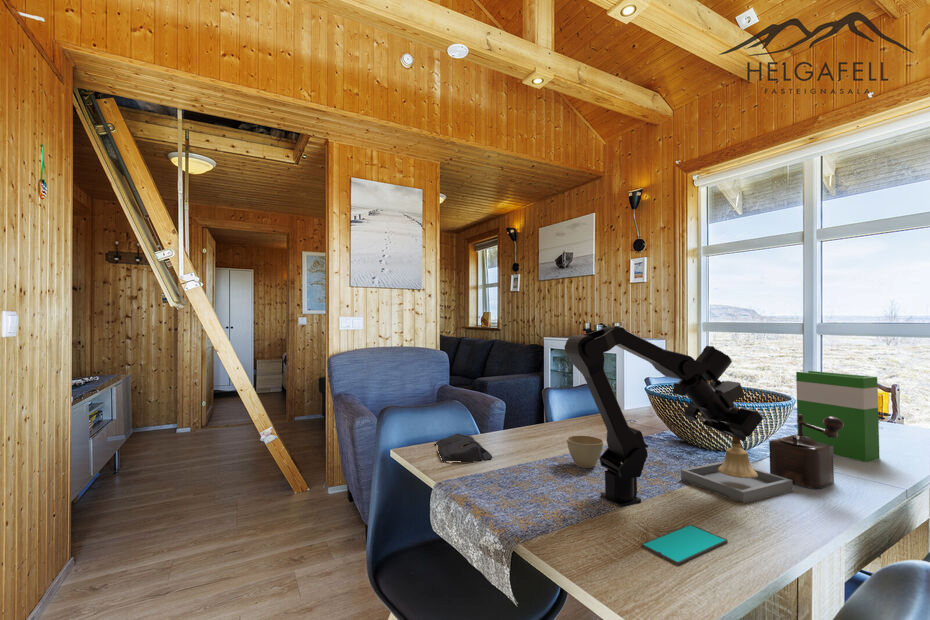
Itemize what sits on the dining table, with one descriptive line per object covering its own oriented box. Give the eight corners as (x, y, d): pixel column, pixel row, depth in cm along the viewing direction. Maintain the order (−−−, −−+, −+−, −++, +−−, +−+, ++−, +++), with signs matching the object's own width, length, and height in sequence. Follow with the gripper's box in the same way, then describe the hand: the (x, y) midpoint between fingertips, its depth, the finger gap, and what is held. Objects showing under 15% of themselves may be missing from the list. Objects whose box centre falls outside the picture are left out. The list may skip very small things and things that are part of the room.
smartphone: (728, 540, 79) (678, 563, 71) (728, 544, 79) (678, 568, 71) (689, 523, 85) (640, 543, 78) (690, 528, 85) (640, 548, 78)
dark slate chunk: (476, 442, 147) (476, 427, 147) (494, 462, 125) (494, 446, 125) (432, 444, 144) (432, 430, 144) (442, 466, 122) (442, 449, 122)
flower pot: (605, 472, 116) (605, 445, 116) (567, 469, 118) (567, 443, 118) (601, 460, 125) (601, 435, 126) (566, 458, 127) (566, 434, 128)
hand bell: (765, 478, 101) (762, 409, 102) (729, 478, 101) (726, 409, 102) (744, 468, 109) (742, 404, 110) (711, 467, 110) (708, 404, 111)
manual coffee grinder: (766, 477, 112) (765, 407, 112) (788, 470, 117) (786, 403, 118) (841, 498, 98) (839, 419, 99) (861, 489, 104) (859, 414, 104)
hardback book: (797, 445, 140) (796, 371, 141) (811, 443, 143) (809, 370, 144) (865, 462, 124) (863, 378, 124) (879, 458, 127) (877, 376, 127)
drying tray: (743, 503, 96) (743, 492, 96) (681, 479, 110) (680, 469, 110) (792, 490, 103) (792, 480, 103) (728, 469, 118) (727, 460, 118)
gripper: (755, 375, 96) (795, 422, 98) (693, 366, 114) (728, 407, 117) (726, 411, 94) (768, 459, 96) (668, 397, 112) (704, 438, 115)
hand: (740, 438), depth 106 cm, fingers closed on hand bell
